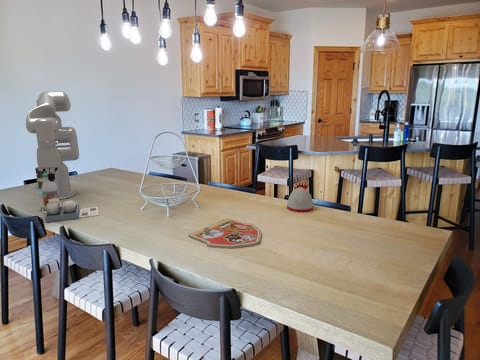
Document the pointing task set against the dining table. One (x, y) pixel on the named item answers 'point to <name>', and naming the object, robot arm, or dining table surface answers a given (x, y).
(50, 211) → the button
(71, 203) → the button
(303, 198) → the grey red dome
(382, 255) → the dining table surface
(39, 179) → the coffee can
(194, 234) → the coat of arms plaque
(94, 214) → the card
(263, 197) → the dining table surface
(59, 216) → the button board
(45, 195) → the milk bottle
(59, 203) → the button
